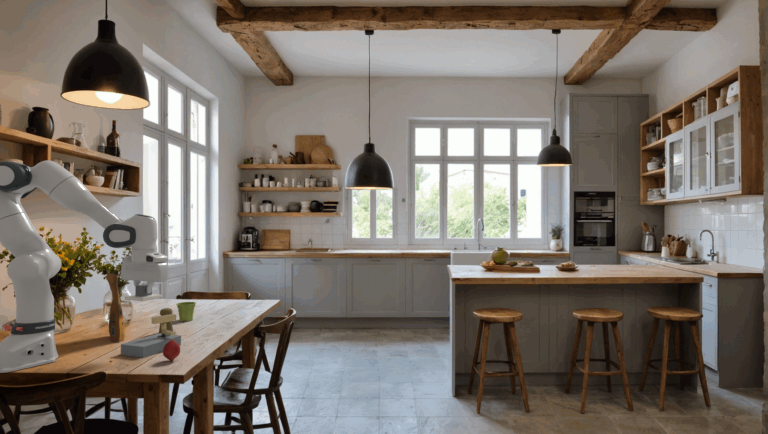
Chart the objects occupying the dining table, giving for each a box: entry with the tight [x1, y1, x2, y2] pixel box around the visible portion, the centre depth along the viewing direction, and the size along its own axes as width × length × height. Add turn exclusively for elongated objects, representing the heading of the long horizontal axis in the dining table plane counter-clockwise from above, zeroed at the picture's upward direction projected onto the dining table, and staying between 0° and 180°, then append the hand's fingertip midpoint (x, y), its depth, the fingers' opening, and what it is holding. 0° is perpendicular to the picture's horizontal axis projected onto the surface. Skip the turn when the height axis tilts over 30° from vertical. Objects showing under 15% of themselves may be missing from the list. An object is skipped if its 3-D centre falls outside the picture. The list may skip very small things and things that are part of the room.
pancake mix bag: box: [105, 272, 126, 343], centre depth 205 cm, size 7×19×28 cm, turn 33°
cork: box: [158, 307, 174, 334], centre depth 216 cm, size 6×6×11 cm
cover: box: [124, 283, 163, 302], centre depth 183 cm, size 9×9×5 cm
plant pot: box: [176, 301, 197, 322], centre depth 243 cm, size 9×9×9 cm
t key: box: [151, 313, 177, 336], centre depth 191 cm, size 8×9×8 cm
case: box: [120, 332, 182, 359], centre depth 187 cm, size 19×11×4 cm, turn 161°
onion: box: [162, 339, 181, 362], centre depth 173 cm, size 6×6×8 cm
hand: (143, 292), depth 183 cm, fingers closed on cover, 3 cm apart
